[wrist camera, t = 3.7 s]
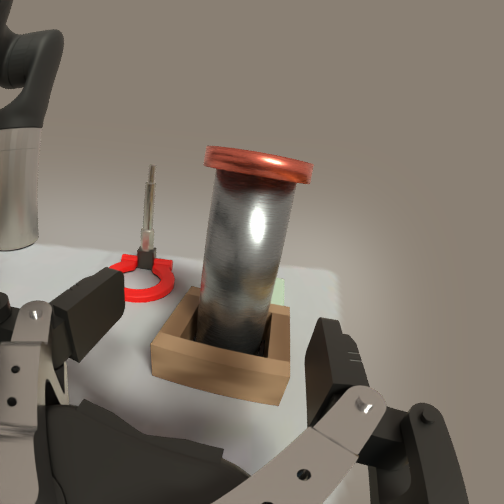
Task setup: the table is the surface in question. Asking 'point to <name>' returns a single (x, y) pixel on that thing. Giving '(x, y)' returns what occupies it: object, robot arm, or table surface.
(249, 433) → the table surface
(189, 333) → the brown square frame
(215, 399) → the table surface
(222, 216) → the steel peg
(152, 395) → the table surface
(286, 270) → the table surface
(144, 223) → the tow hook
